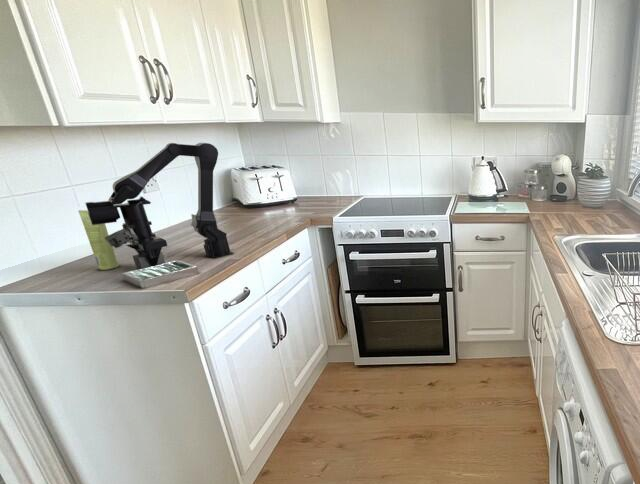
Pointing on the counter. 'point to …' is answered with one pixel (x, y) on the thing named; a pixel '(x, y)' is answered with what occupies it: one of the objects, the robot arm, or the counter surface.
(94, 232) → the tube
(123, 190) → the robot arm
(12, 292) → the counter surface
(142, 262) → the dark grey block
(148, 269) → the striped rimmed tray
